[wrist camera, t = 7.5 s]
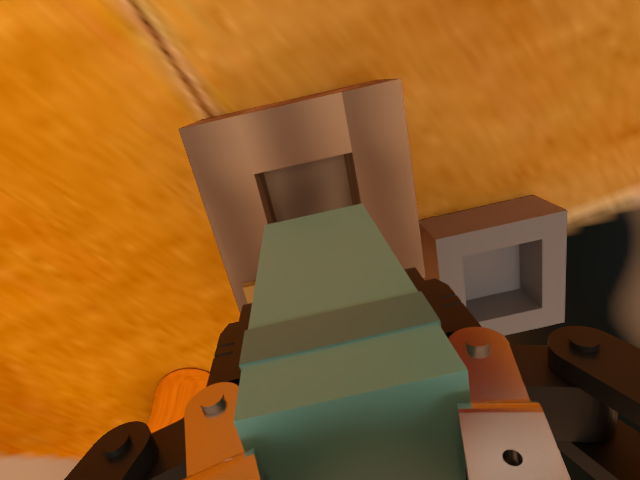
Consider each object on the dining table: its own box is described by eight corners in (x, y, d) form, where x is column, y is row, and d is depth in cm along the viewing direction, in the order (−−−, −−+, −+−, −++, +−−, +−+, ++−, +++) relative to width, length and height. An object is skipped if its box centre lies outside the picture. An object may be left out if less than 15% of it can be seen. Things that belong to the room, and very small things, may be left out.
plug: (363, 201, 16) (470, 366, 7) (378, 290, 17) (483, 525, 8) (263, 224, 16) (228, 420, 7) (287, 310, 17) (287, 568, 8)
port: (377, 79, 26) (404, 78, 20) (400, 242, 31) (428, 281, 25) (201, 119, 27) (175, 130, 20) (250, 276, 31) (240, 323, 25)
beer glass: (209, 351, 33) (152, 544, 19) (245, 410, 36) (218, 617, 22) (134, 381, 34) (27, 589, 20) (176, 436, 36) (106, 655, 22)
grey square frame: (533, 194, 30) (567, 210, 27) (533, 295, 34) (564, 322, 30) (417, 220, 30) (435, 239, 27) (429, 318, 34) (447, 348, 30)
